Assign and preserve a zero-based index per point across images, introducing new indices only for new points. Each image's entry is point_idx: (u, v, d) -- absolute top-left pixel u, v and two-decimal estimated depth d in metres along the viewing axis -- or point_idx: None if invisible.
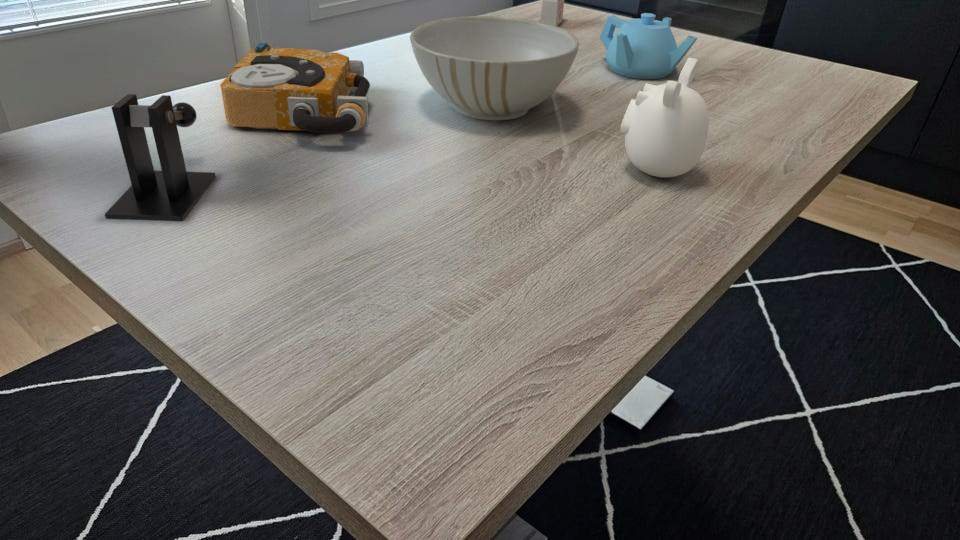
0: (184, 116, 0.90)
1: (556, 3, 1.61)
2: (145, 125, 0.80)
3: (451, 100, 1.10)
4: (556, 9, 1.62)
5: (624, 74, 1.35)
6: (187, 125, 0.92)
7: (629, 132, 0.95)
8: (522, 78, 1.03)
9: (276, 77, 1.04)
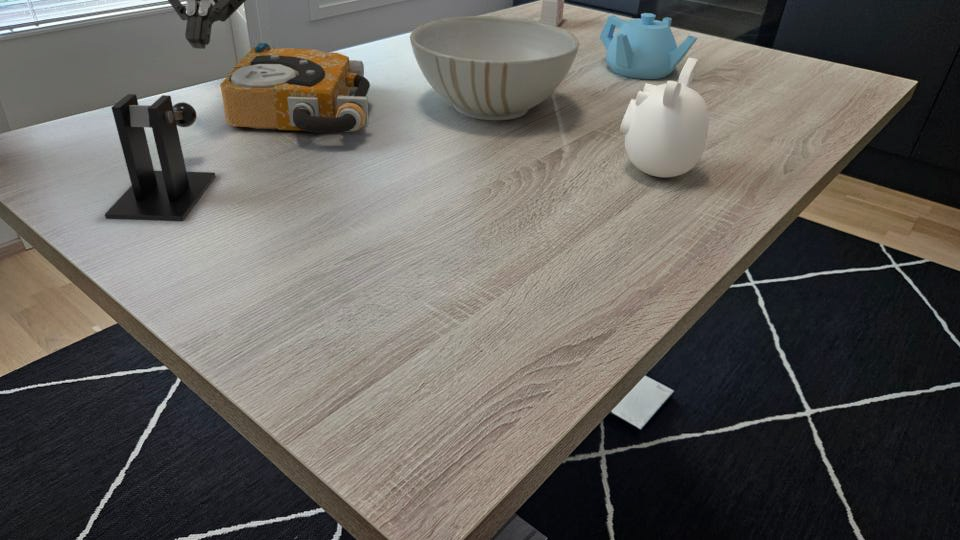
0: (184, 116, 0.90)
1: (556, 3, 1.61)
2: (145, 125, 0.80)
3: (451, 100, 1.10)
4: (556, 9, 1.62)
5: (624, 74, 1.35)
6: (187, 125, 0.92)
7: (629, 132, 0.95)
8: (522, 78, 1.03)
9: (276, 77, 1.04)
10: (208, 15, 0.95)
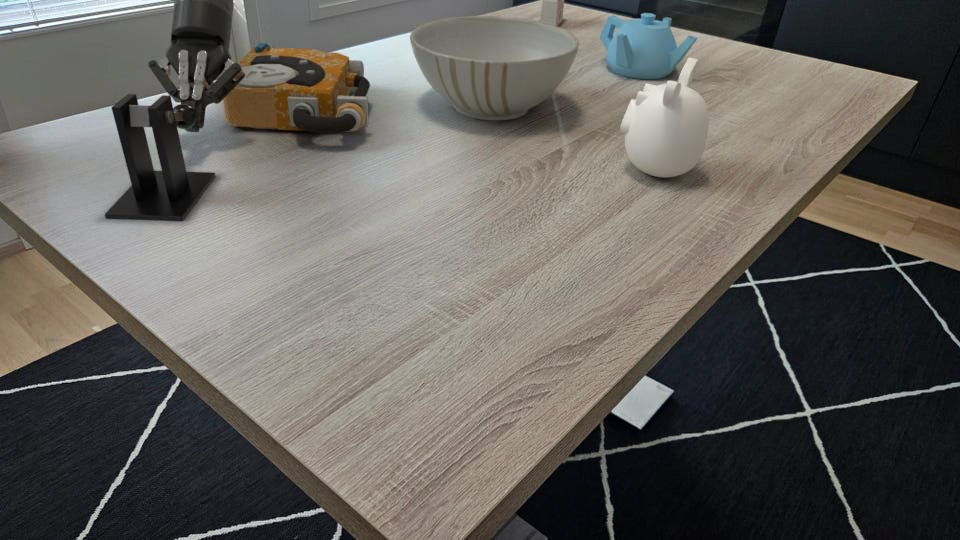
0: (184, 118, 0.90)
1: (556, 3, 1.61)
2: (145, 125, 0.80)
3: (451, 100, 1.10)
4: (556, 9, 1.62)
5: (624, 74, 1.35)
6: (187, 127, 0.92)
7: (629, 132, 0.95)
8: (522, 78, 1.03)
9: (276, 77, 1.04)
10: (202, 99, 0.94)
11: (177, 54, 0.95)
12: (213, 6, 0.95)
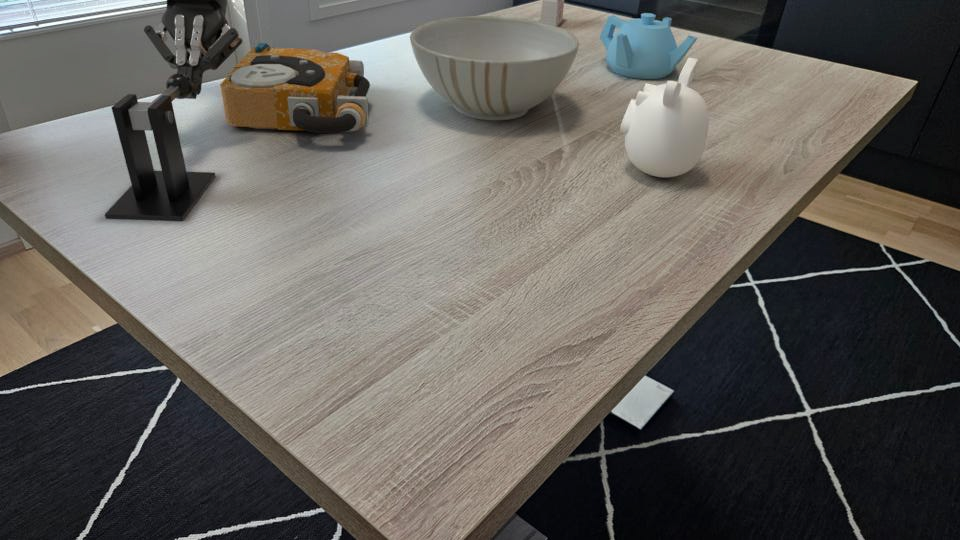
0: (181, 91, 0.89)
1: (556, 3, 1.61)
2: (147, 129, 0.80)
3: (451, 100, 1.10)
4: (556, 9, 1.62)
5: (624, 74, 1.35)
6: (185, 97, 0.91)
7: (629, 132, 0.95)
8: (522, 78, 1.03)
9: (276, 77, 1.04)
10: (199, 65, 0.93)
11: (173, 19, 0.94)
12: None
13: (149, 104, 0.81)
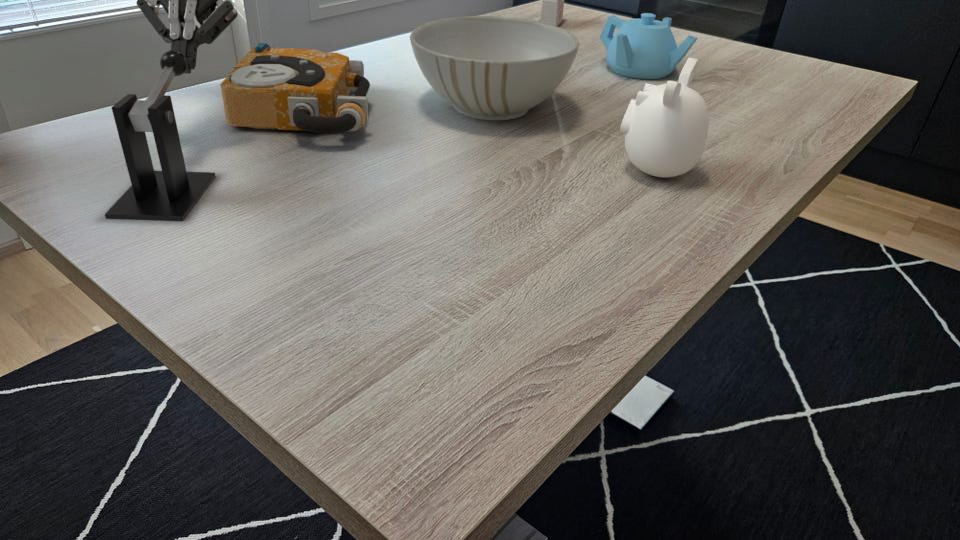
0: (176, 71, 0.88)
1: (556, 3, 1.61)
2: (149, 130, 0.81)
3: (451, 100, 1.10)
4: (556, 9, 1.62)
5: (624, 74, 1.35)
6: (180, 75, 0.89)
7: (629, 132, 0.95)
8: (522, 78, 1.03)
9: (276, 77, 1.04)
10: (193, 39, 0.91)
11: None
12: None
13: (148, 104, 0.81)
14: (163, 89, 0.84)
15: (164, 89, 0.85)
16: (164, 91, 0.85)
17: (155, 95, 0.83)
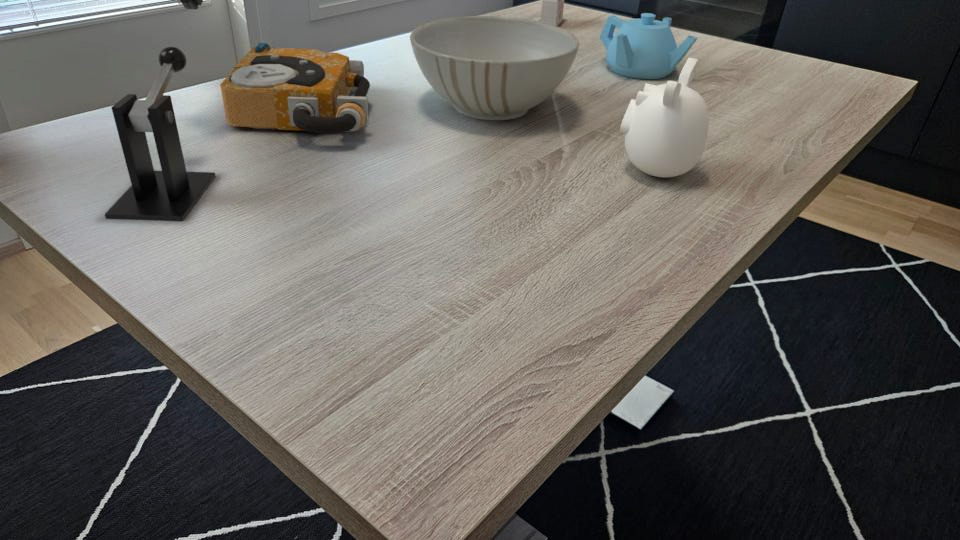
0: (175, 68, 0.87)
1: (556, 3, 1.61)
2: (149, 131, 0.81)
3: (451, 100, 1.10)
4: (556, 9, 1.62)
5: (624, 74, 1.35)
6: (179, 71, 0.89)
7: (629, 132, 0.95)
8: (522, 78, 1.03)
9: (276, 77, 1.04)
10: None
11: None
12: None
13: (147, 104, 0.81)
14: (163, 88, 0.84)
15: (163, 87, 0.84)
16: (163, 89, 0.84)
17: (154, 94, 0.83)
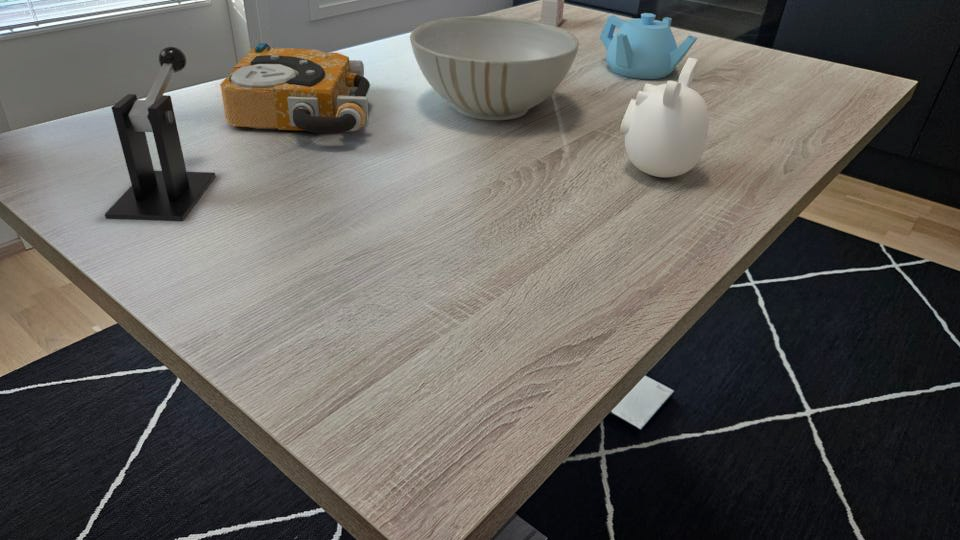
0: (175, 68, 0.87)
1: (556, 3, 1.61)
2: (149, 131, 0.81)
3: (451, 100, 1.10)
4: (556, 9, 1.62)
5: (624, 74, 1.35)
6: (179, 71, 0.89)
7: (629, 132, 0.95)
8: (522, 78, 1.03)
9: (276, 77, 1.04)
10: None
11: None
12: None
13: (147, 104, 0.81)
14: (163, 88, 0.84)
15: (163, 87, 0.84)
16: (163, 89, 0.84)
17: (154, 94, 0.83)
